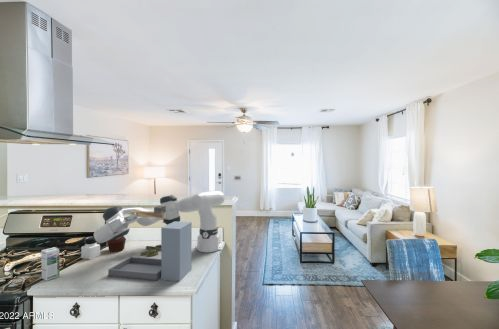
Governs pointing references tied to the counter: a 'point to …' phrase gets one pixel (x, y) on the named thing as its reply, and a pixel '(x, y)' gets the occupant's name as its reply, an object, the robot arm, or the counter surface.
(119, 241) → the muffin
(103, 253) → the counter surface
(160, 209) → the oak handled hammer
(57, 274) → the syrup box
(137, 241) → the counter surface
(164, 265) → the slate stand
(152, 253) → the cookie cutter
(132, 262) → the charcoal tray
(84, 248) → the medicine bottle
